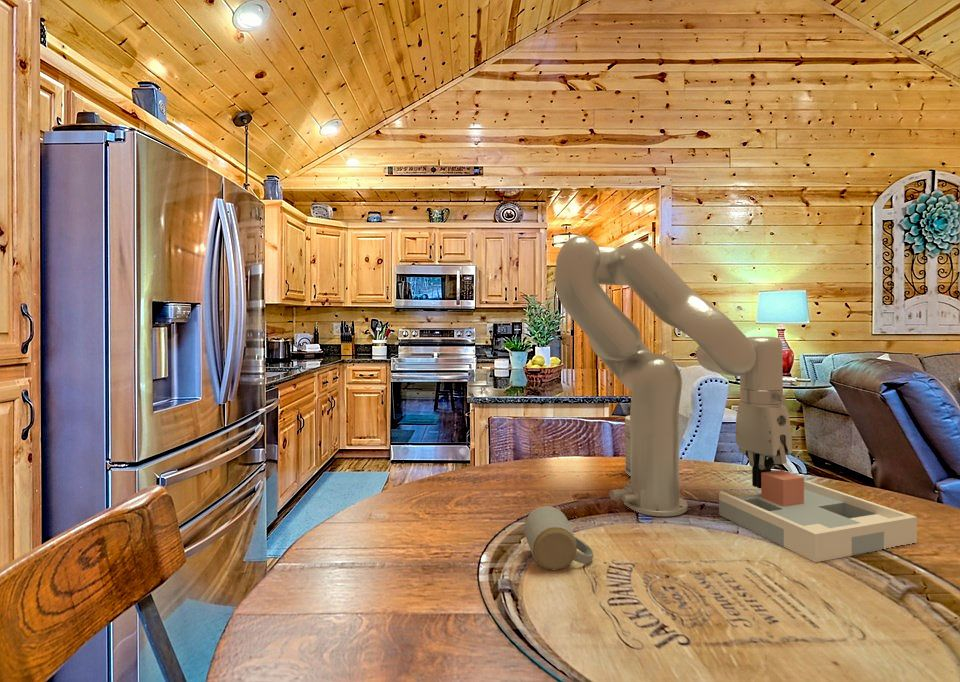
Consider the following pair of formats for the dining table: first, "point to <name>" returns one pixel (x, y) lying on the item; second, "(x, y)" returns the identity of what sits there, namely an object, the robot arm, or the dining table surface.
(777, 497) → the block
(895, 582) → the dining table surface
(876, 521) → the board
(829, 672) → the dining table surface
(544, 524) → the ceramic mug
